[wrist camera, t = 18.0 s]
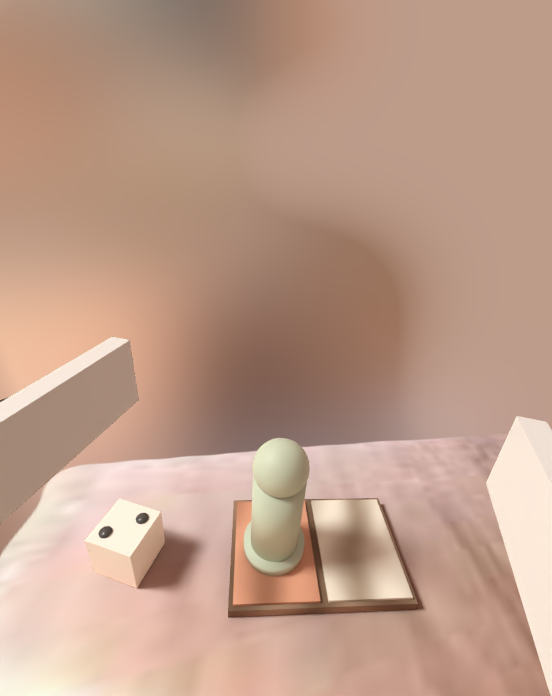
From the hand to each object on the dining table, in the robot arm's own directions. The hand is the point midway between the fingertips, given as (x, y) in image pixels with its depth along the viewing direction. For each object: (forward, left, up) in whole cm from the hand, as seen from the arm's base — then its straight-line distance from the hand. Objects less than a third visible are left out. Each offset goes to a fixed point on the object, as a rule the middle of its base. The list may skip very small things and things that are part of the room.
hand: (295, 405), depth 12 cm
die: (+19, 0, -30) cm, 36 cm away
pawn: (+9, -11, -29) cm, 32 cm away
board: (+6, -14, -30) cm, 34 cm away
